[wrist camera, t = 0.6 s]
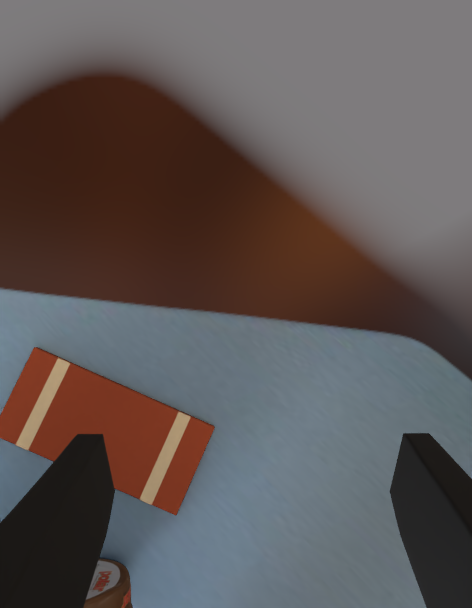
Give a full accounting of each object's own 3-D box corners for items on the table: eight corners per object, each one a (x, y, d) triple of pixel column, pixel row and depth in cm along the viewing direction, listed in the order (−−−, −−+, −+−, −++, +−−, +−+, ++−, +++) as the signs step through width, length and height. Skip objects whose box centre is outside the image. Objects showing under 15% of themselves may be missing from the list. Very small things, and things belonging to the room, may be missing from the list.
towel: (176, 512, 34) (176, 516, 33) (-6, 432, 34) (-10, 434, 33) (214, 426, 35) (214, 427, 34) (37, 347, 35) (33, 347, 34)
